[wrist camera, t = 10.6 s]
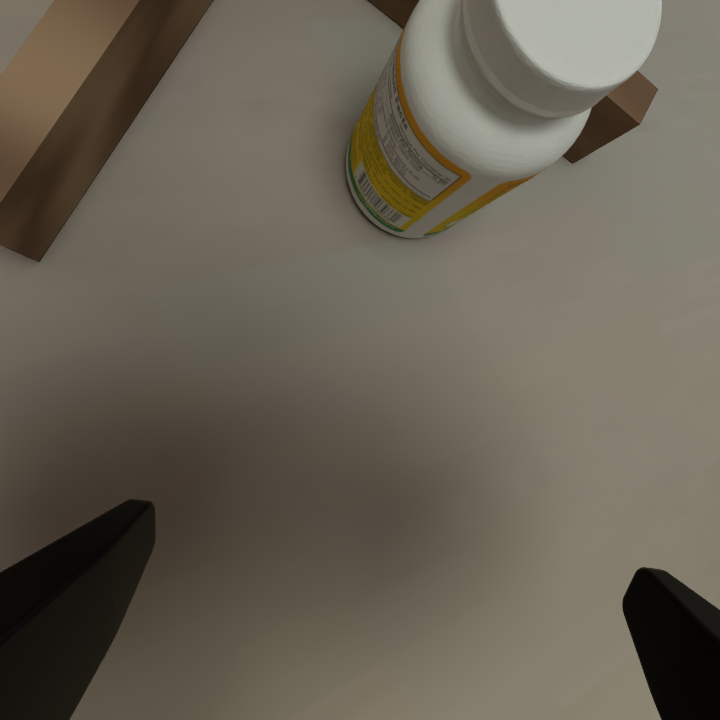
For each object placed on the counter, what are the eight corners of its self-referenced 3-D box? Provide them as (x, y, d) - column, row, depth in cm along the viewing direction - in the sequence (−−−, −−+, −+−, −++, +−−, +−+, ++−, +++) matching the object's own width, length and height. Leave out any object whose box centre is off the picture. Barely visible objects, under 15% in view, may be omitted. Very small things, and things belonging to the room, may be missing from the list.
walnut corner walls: (413, 466, 18) (451, 492, 15) (-11, 235, 15) (-88, 199, 11) (588, 133, 20) (658, 89, 17) (250, -146, 16) (251, -275, 13)
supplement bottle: (337, 230, 17) (441, 87, 8) (349, 92, 18) (465, -206, 8) (465, 250, 19) (680, 146, 9) (475, 121, 19) (699, -108, 10)
